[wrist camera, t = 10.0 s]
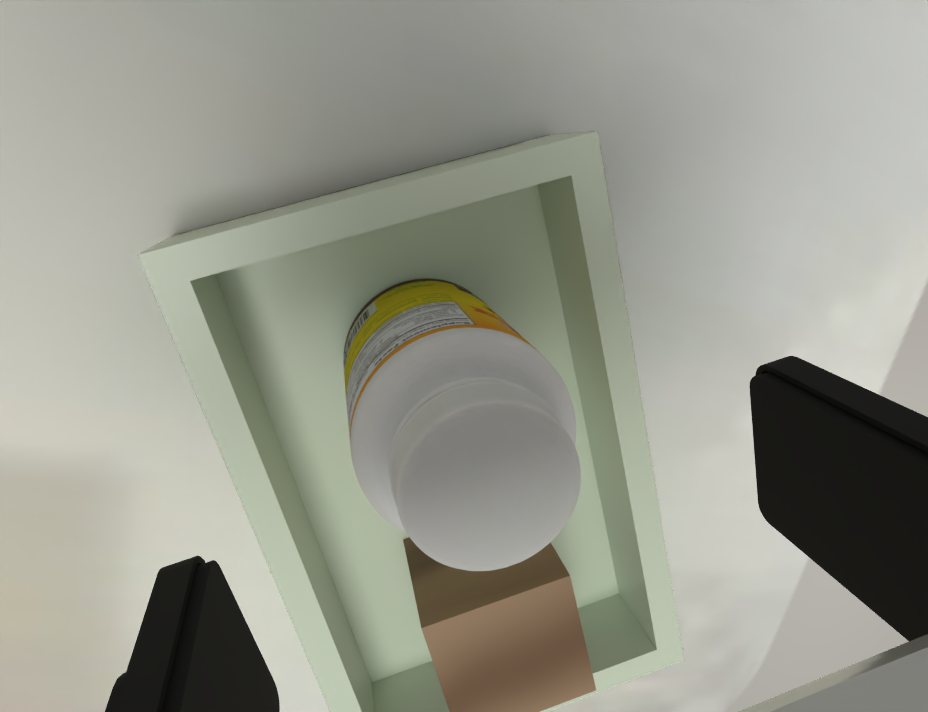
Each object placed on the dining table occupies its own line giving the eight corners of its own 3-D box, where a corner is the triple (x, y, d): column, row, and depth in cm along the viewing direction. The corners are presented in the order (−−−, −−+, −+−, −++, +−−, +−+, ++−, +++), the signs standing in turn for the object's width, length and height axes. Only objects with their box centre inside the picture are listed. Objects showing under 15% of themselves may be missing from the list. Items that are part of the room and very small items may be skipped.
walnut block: (402, 539, 25) (421, 628, 20) (524, 498, 26) (569, 575, 21) (435, 638, 27) (459, 741, 22) (549, 598, 27) (596, 690, 23)
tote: (172, 236, 21) (136, 255, 17) (549, 134, 22) (597, 130, 18) (354, 693, 28) (359, 783, 24) (635, 592, 29) (684, 660, 25)
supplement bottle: (514, 396, 24) (638, 556, 15) (370, 444, 24) (401, 642, 14) (477, 252, 22) (592, 327, 13) (320, 299, 22) (316, 416, 12)
